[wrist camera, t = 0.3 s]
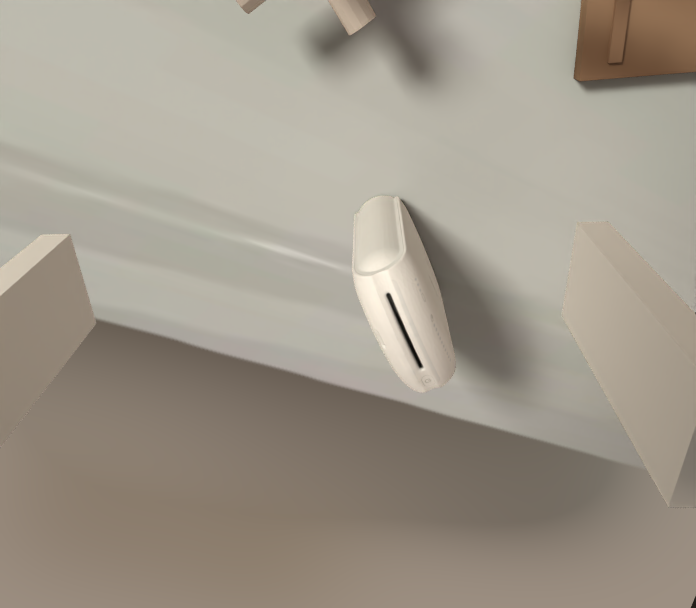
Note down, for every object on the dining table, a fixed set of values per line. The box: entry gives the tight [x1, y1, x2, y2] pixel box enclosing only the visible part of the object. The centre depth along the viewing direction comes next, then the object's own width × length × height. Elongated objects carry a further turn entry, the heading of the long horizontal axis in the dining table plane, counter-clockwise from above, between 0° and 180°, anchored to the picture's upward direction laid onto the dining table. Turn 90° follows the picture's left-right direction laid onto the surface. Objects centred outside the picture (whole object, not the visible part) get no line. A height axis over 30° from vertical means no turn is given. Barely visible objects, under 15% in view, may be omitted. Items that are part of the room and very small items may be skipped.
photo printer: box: [352, 196, 456, 393], centre depth 40 cm, size 10×4×12 cm, turn 24°
